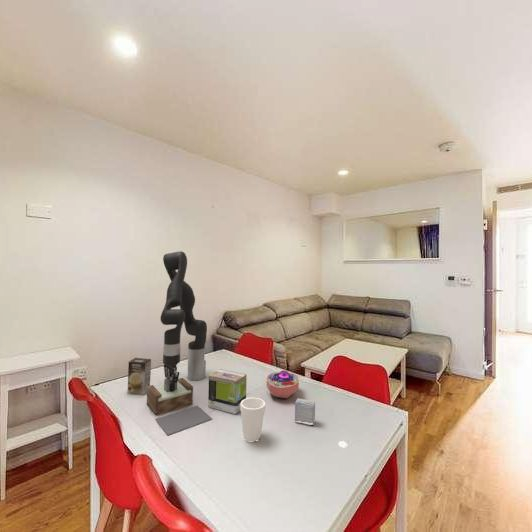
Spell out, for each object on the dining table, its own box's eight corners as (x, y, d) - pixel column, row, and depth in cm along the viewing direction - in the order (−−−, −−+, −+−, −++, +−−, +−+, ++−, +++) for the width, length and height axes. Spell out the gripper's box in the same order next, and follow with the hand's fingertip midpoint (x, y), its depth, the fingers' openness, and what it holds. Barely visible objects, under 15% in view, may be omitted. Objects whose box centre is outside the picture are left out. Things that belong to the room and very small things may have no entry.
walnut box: (182, 394, 140) (182, 377, 140) (192, 404, 131) (193, 386, 131) (146, 404, 130) (147, 386, 130) (155, 415, 120) (155, 396, 120)
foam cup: (255, 448, 101) (255, 412, 101) (234, 439, 106) (235, 404, 106) (268, 435, 109) (269, 401, 109) (249, 427, 114) (250, 395, 114)
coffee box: (126, 393, 140) (127, 361, 140) (133, 388, 146) (134, 357, 146) (144, 395, 139) (145, 362, 139) (150, 389, 145) (151, 358, 145)
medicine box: (315, 421, 119) (315, 401, 119) (313, 427, 115) (313, 405, 115) (296, 417, 122) (297, 397, 122) (294, 423, 118) (294, 402, 118)
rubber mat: (197, 406, 130) (197, 405, 130) (212, 419, 119) (212, 418, 119) (155, 419, 117) (155, 418, 117) (167, 435, 107) (167, 434, 107)
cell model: (259, 400, 137) (259, 376, 137) (273, 384, 156) (274, 364, 156) (292, 407, 131) (293, 383, 131) (303, 390, 149) (304, 369, 149)
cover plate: (180, 383, 139) (181, 371, 139) (191, 392, 130) (191, 379, 130) (149, 390, 130) (150, 377, 130) (158, 401, 121) (159, 387, 121)
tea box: (246, 405, 132) (247, 373, 132) (235, 415, 123) (236, 381, 123) (219, 398, 138) (220, 368, 138) (207, 407, 129) (208, 375, 129)
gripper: (185, 355, 127) (184, 393, 127) (174, 347, 137) (173, 382, 138) (169, 358, 122) (168, 398, 122) (158, 349, 133) (157, 386, 133)
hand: (170, 389), depth 130 cm, fingers closed on cover plate, 3 cm apart
